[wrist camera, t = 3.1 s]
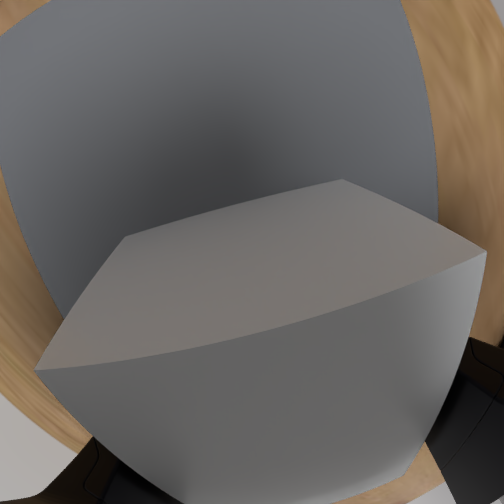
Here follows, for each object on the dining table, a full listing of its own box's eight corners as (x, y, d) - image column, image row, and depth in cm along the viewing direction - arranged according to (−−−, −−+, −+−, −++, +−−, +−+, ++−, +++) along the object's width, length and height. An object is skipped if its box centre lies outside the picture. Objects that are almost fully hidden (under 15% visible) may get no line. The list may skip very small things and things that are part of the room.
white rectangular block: (342, 178, 7) (486, 251, 3) (355, 377, 11) (403, 475, 6) (125, 236, 7) (32, 370, 3) (213, 414, 10) (220, 523, 6)
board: (364, -46, 5) (374, -55, 4) (412, 351, 12) (420, 362, 11) (-1, 51, 5) (-14, 48, 4) (152, 421, 12) (150, 433, 11)
